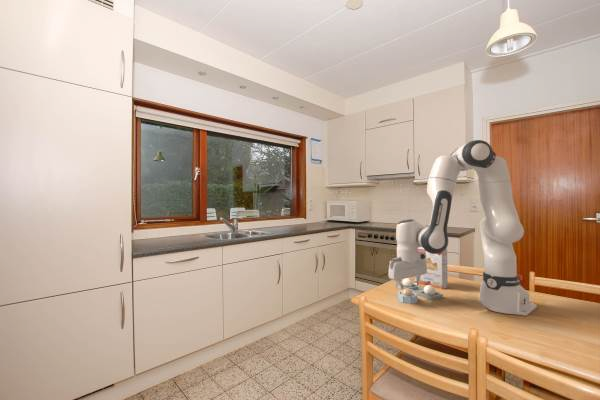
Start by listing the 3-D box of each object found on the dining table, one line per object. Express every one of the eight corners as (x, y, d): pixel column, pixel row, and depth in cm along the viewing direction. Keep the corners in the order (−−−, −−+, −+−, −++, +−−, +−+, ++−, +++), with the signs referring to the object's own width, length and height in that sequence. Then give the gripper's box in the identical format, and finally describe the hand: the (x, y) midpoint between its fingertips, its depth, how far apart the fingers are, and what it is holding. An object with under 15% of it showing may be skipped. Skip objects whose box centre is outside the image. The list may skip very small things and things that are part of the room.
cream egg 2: (428, 293, 129) (428, 283, 129) (437, 296, 125) (437, 286, 125) (421, 295, 127) (421, 284, 127) (430, 298, 123) (430, 287, 123)
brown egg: (406, 297, 125) (406, 286, 125) (415, 301, 120) (415, 289, 120) (398, 299, 123) (398, 288, 123) (407, 302, 118) (407, 291, 118)
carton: (407, 286, 143) (407, 282, 143) (443, 299, 124) (443, 294, 124) (395, 288, 140) (395, 284, 140) (430, 302, 121) (430, 297, 121)
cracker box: (415, 284, 146) (415, 245, 146) (421, 282, 150) (421, 244, 150) (442, 291, 135) (441, 249, 135) (448, 288, 139) (447, 248, 139)
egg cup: (406, 298, 127) (406, 289, 127) (421, 303, 120) (420, 294, 120) (393, 301, 123) (393, 292, 123) (407, 307, 116) (407, 297, 116)
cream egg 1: (407, 285, 141) (407, 276, 141) (415, 288, 137) (414, 278, 137) (400, 287, 139) (400, 277, 139) (407, 290, 135) (407, 280, 135)
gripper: (395, 260, 114) (396, 293, 114) (429, 254, 123) (430, 284, 123) (384, 257, 120) (385, 288, 120) (417, 252, 129) (418, 281, 128)
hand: (408, 286), depth 121 cm, fingers open, 8 cm apart
